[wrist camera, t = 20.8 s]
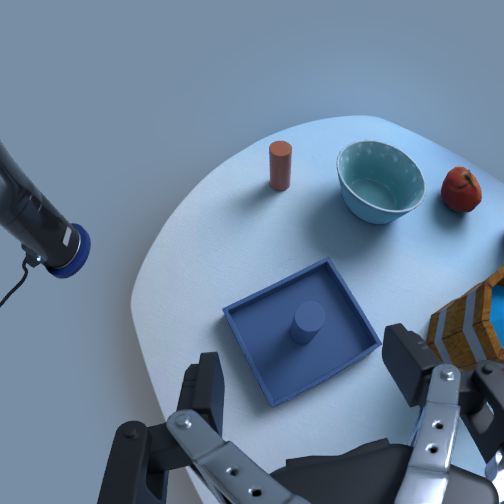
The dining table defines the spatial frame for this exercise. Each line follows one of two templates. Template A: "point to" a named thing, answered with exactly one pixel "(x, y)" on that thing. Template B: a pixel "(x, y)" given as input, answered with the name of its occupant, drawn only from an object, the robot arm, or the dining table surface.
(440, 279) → the dining table surface
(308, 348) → the blue tray
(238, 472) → the robot arm
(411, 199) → the bowl
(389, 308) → the dining table surface
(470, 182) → the red round fruit
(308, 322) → the blue peg
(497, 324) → the wooden banded barrel
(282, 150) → the terracotta peg
